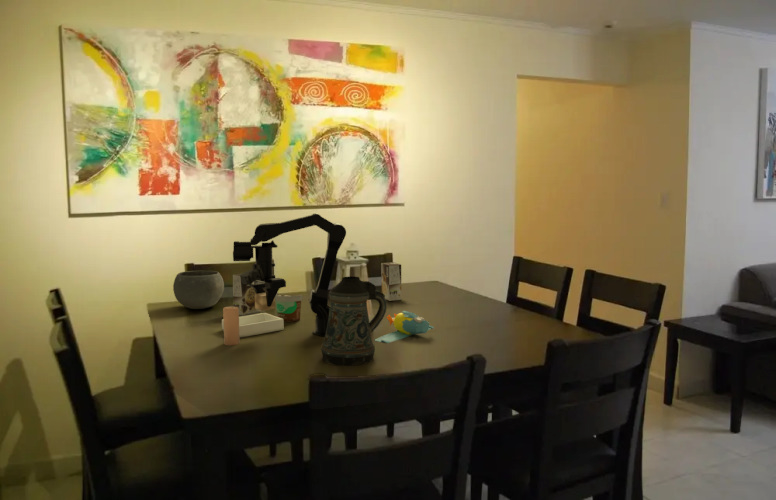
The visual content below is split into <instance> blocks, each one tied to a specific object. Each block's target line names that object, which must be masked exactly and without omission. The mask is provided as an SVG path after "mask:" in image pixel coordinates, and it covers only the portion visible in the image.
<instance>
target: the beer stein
mask: <svg viewBox="0 0 776 500" xmlns="http://www.w3.org/2000/svg"><path fill="white" fill-rule="evenodd" d="M328 299H330V304H329V306H330V310H329V318H328V324H327V330H326V334H325V336H324V337H323V341H322V344H321V346H320V350H321V357H322V361H323V362H324V363H327V364H329V365H335V366H343V367H344V366H350V367H351V366H360V365H365V364H368V363H370V362H372V361H373V360H374V356H375V350H376V348H375V344H374V342H373V339H372V335H371V333H373V332H374V330H376V329H377V328H378V326H379V325H380V324H381V322H382V320H383V319H384V317H385V315H386V312H387V306H388V303H387V300H386V299H385V295H384V294H383V293H382V292H381V291H379V290H377V289H376V284H374V283H372V282H370V281H366V280H364V281H363V280H361V279H360V277H359V276H343V277H342V278H341V280H340V282H338V283H337V284H336V285H335V286H333V287H332V288H330V290H328ZM372 300H375V301H377V302H378V305H379V306H378V309H377V311H376V313H375V315H374V316H373V318H372V319H371V320H370V317H369V310H368V303H367V302H368V301H372Z"/></svg>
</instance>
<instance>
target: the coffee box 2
mask: <svg viewBox="0 0 776 500" xmlns="http://www.w3.org/2000/svg"><path fill="white" fill-rule="evenodd" d="M380 268H381V269H380V271H381V272H380V273H381V275H380V276H381V279H380V280H381V293H383V294H384V295H385V299H386V301H389V302H390V301H401V300H402V264H401V263H396V262H393V261H392V262H381V265H380Z"/></svg>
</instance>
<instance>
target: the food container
mask: <svg viewBox="0 0 776 500" xmlns="http://www.w3.org/2000/svg"><path fill="white" fill-rule="evenodd" d="M303 300H304V299H303V296H302V294H300V295H299V294H298V295H290V294H279V292H277V294H276V296H275V309H276V315H277V316H276V317H279V318H282V319H284V322H285V323H287V322H288V323H289V322H291V323H292V322H298V321H301V311H302V310H301V309H302V301H303Z"/></svg>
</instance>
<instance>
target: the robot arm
mask: <svg viewBox="0 0 776 500" xmlns="http://www.w3.org/2000/svg"><path fill="white" fill-rule="evenodd" d="M314 226H316V227H318V228H319V229H321V230H323V231H324V232H326V233H327V239H326V240H327V242H326V243H327V244H326V249H325V250H326V251H325V255H324V260H323V263H322V267H321V269H320V270H321V271H320V275H319V278H318V282H317V285H316V288H315V289H310V296H309V298H308V299H307V300H308V303H309V307H310V310H311V311H312V313H314V314H316V315H315V330H312V334H315V335H318V336H321V337H325V334H326V330H327V324H328V318H329V310H330V305H329V304H328V303H329V287H330V283H331V279H332V275H333V271H334V269H335V263H336V259H337V257H338V252H339V250H340V248H341V246H342V244H343V242H344V240H345V238H346V236H347V230H346V228H345V227H344V226H343V225H342V224H340V223H338V222H335V223H334V222H331V221H330V220H328V219H326V218H324V217H323V216H321V215H320V214H319V213H317V212H316V213H312V214H310V215H305V216H302V217H298V218H294V219H290V220H287V221H282V222H268V223H267V222H266V223H260V224H258V225H257V226H256V228H255V229H254V235H253V236H252V238H250V240H249V241H238V240H237V241H236V240H235V241H233V251H232V260H233V262H250V261H251V259H254V258H255V263H253V264H252V267H251V268H250V269H248V270H246V271H244V272H242V273H239V274H240V278H241V280H242V283H243V284H247V285H249V286H251V287H252V288H254V290H255V292H256V294H259V293H266V300H267V306H268V307H270V306H271V305H272V303H273V300H274V298H275V296H276V294H277V293H279V290H280V289H281V288H286V287H287V280H286V279H284V278H281V277H276V275H275V274H273V273H274V270H273V267H276V263H275V262H273V248H275V249H277V248H278V244H277V243H276V242H275V241H274V240H272V239H274V238H275V239H276V238H277V237H279V236H281V235H282V234H283V235H284V234H286V233H290V232H293V231H298V230H301V229H306V228H310V227H314ZM270 240H271V241H270ZM268 241H270V242H268ZM260 243H261V245H258V244H260ZM254 250H255V251H254ZM254 252H255V257H254Z"/></svg>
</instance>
